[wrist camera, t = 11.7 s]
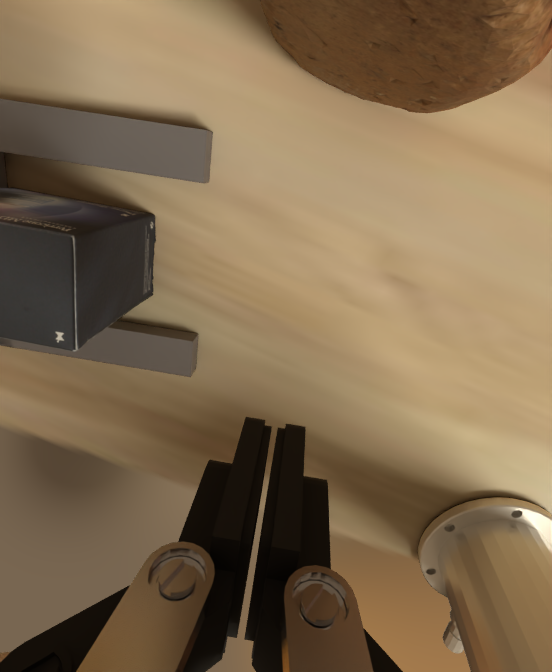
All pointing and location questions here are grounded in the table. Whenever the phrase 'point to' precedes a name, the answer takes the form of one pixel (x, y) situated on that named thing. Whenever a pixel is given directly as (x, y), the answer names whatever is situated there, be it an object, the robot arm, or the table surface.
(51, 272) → the small box
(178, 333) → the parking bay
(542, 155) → the table surface
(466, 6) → the block
